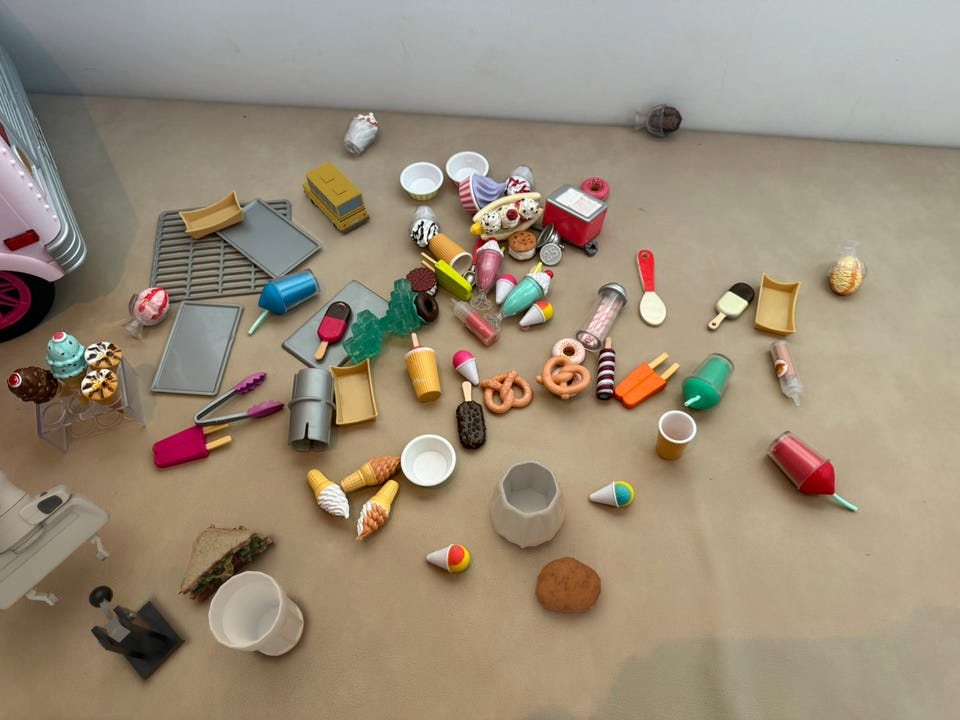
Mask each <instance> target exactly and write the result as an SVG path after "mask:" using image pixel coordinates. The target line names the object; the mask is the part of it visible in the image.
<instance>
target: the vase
mask: <svg viewBox="0 0 960 720" xmlns="http://www.w3.org/2000/svg"><path fill="white" fill-rule="evenodd" d="M565 506H566V505H565V495H564V492H563V489H562V487H561V484H560V482H559V481H558V477H557V473H556V472H555V470H554V469H552V468H551V467H549V466H547V465H546V464H543V463H542V462H540V461H538V460H536V459H527V460H523V461H516V462H514V463H511V464H510V465H508V466H507V468H506V470H505V472H504V473H503V474H502V475H501V476H500V477H499V479H498V480H497V482H496V483H495V485H494V488H493V490H492V494H491V497H490V501H489V515H490V517H491V521H492V523H493V526H494V529H495V533H497V534H498V535H500V536H502V537H503V538H504V539H506V540H507V541H508V542H509V543H512V544H515V545H517V546H519V548H521V549H525V548H526V547H537V546H539V545H541V544H544V543H546V542H550V541H552V540H553V538H554V537H555V535H556V534H557V532H558V531H559V529H560V528H561V526H562V525H563V522H564V519H565V517H566V507H565Z"/></svg>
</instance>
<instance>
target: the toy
mask: <svg viewBox="0 0 960 720" xmlns="http://www.w3.org/2000/svg"><path fill="white" fill-rule="evenodd" d="M304 176H305V177H306V180H307V181H305V182H302V188H303V193H304V194H305V195H306V196H307V197H308V199H309V200H310V202H311V203H312V205H313V206H317V208H319V210H320V211H322V213H324V215H325V216H326V217H327V218H328V219H329V220H330V222H331V223H332V224H333V227H334V228H335V230H338V231H340V233H341V234H346V233H348V232H349V231H351V230H353V229H354V228H357V227H358V226H360V225H362V224H364V223H365V222H367V221H369V220H370V219H371V217H370V215H369V214H368V210H367V208H366V205H365V200H364V197H363V193H362V191H361V190H359V189H358V187H357V186H356V185H355V184H354V183H352V182H351V181H350V180H349V179H348V177H346V176H345V175H344V174H343V172H341V170H339V168H338V167H336V166H335V165H334V164H333V163H332V162H331V161H328V162H326V163H324V164H322V165H320V166H318V167H316V168H314V169H312V170H310V171H308V172H307V173H304Z"/></svg>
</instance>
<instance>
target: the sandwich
mask: <svg viewBox="0 0 960 720" xmlns="http://www.w3.org/2000/svg"><path fill="white" fill-rule="evenodd" d="M237 528H238V529H237ZM273 544H274V540H273V539H271V538H269V537H268V535H267V534H265V533H263V532H257V531H256V530H255V529H251V528H246V527H245V526H243V525H238V527H234V528H232V529H231V528H225V527H220V528H219V527H216V526H215V524H213V523H210V524H209V527H207V528H203V529H202V530H200V532H198V534H196V536H195V538H194V540H193V542H192V548H191V549H192V550H191V554H190V559H189V564H188V567H187V571H186V574H185V576H184V578H183V579H182V581H181V584H180V591H178V595H181V594H182V595H185V596H186V595H187V594H189V593H190V594H189V597H188V599H189V600H191V601H195V600H197V598H198V604H199V605H200V604H201V605H202V603H203V602H204V601H206V600H207V599H208V598H209V597H210V596H211V595H212V594H213V593H214V592H216V591H217V590H219V588H220V586H222V585H223V584H224V583H225V582H227V581H228V580H229V579H230V578H232V577H233V576H235V575H237V574H236V573H238V572H239V571H240V570H241V569H242V568H243V567H244V566H246V565H247V564H249V563H252V562H253V561H256V558H257V557H258V556H259V555H260V554H261V553H264V552H265V550H266V549H268V548H269V547H270V546H271V545H273Z"/></svg>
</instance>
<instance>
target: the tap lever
mask: <svg viewBox="0 0 960 720" xmlns="http://www.w3.org/2000/svg"><path fill="white" fill-rule="evenodd" d="M113 598H114V591H113V589H112V588H111V587H109V586H107V585H99V586H96V587H94V588H93V589H92V590H91V591H90V593H89V595H88V602H89V605H91V606H92V607H93V608H96V609H101V610H102V612H103V614H104V616H105V618H106V621H107V623H106V624H105V625H104V626H103V628H105V629H106V631H107V633H108V635H109V637H111V638H113V639H114V640H116V641H117V642H120V641H121V640H123V639H124V638H125V637H126V636H127V635H128V634H129V633H130V632H131V631H130V629H128V628H127V627H126V626H125V625H124V623H123V622H122V621H121V620H120V618H119V617H118V616H117V615H116V613H115V612H114V611H113V609H114V608H113V606H112V605H111V602H112V601H113Z"/></svg>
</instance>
